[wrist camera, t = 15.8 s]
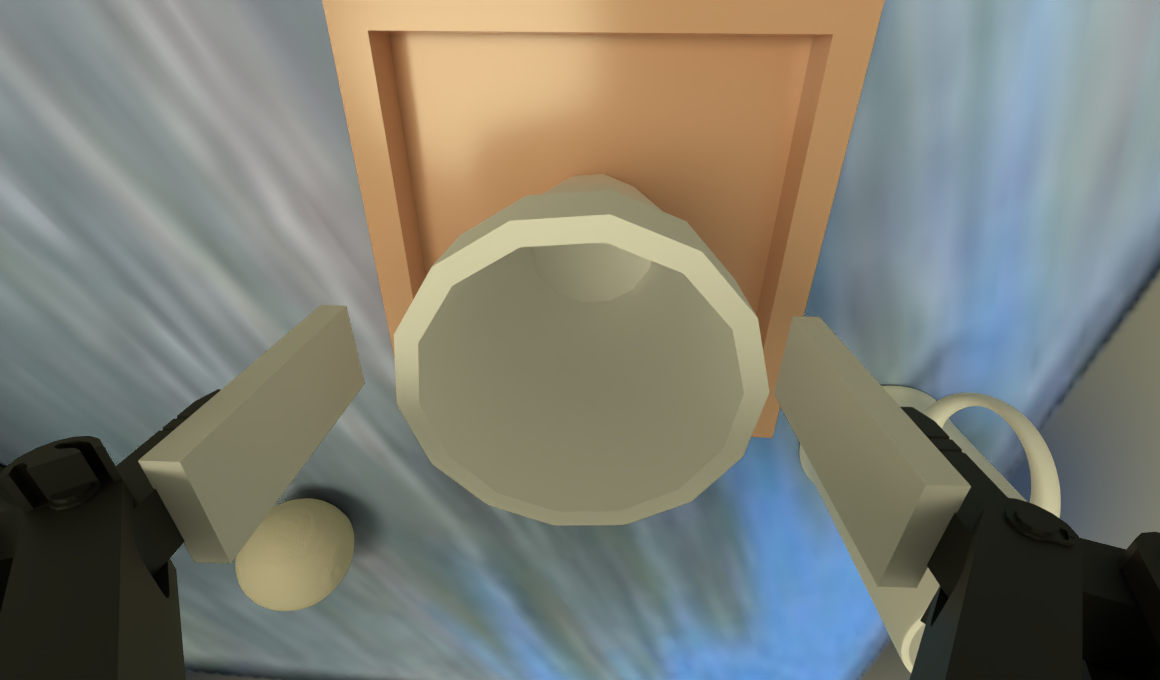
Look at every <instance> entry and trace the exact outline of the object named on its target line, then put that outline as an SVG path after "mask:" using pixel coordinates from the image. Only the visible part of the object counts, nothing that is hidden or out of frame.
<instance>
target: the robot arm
mask: <svg viewBox="0 0 1160 680" xmlns="http://www.w3.org/2000/svg"><path fill="white" fill-rule="evenodd" d="M364 384H365V382H364V378H363V373H362V369H361V365H360V361H359V357H358V353H357V348H356V344H355V340H354V336H353V332H352V328H351V323H350V319H349V315H348V311H347V307H346V306H330V305H321V306H319V307H318V308H317V309H316V310H315V311H313V312H312V313H311V314H310V315H309V316H308V317H306V318H305V319H304V320H303V321H302V322H301V323H299V324H298V325H297V326H296V327H295V328H293V329H292V330H291V331H290V332H289V333H288V334H286V335H285V336H284V337H283V338H282V339H281V340H279V341H278V342H277V343H276V344H275V345H273V346H272V347H271V348H270V349H269V350H268V351H266V352H265V353H264V354H263V355H262V356H261V357H259V358H258V359H257V360H256V361H255V362H253V363H252V364H251V365H250V366H249V367H248V368H246V369H245V370H244V371H243V372H242V373H241V374H239V375H238V376H237V377H236V378H235V379H233V380H232V381H231V382H230V383H229V384H228V385H226V386H225V387H224V388H223V389H222V390H220V389H218V390H216V391H214V392H212V393H210V394H208V395H206V396H204V397H203V398H201V399H199V400H197V401H195V402H194V403H192V404H191V405H190V406H189V407H187V408H186V409H185V410H184V411H183V412H181V413H180V414H179V415H178V416H177V419H173V420H172V421H170V422H169V423H168V424H167V425H166V426H164V427H163V430H162V431H158V432H157V433H156V434H155V435H153V436H152V437H151V438H150V439H149V440H147V441H146V442H145V443H144V444H143V445H141V446H140V447H139V448H138V449H136V450H135V451H134V452H133V453H132V454H130V455H129V456H128V457H127V458H126V459H124V460H123V461H122V462H121V463H119V464H118V465H117V466H115V465H114V463H113V461H112V459H111V458H110V456H109V454H108V453H107V451H106V449H105V448H104V446H103V444H102V443H101V441H100V439H98V438H94V437H91V436H81V437H71V438H67V439H63V440H58V441H55V442H52V443H49V444H46V445H44V446H41V447H38V448H36V449H34V450H32V451H30V452H28V453H26V454H24V455H23V456H21V457H19V458H17V459H16V460H15V461H13V462H12V463H11V464H9V465H8V466H7V467H5V468H3V467H1V466H0V680H186V679H185V667H184V655H183V644H182V632H181V621H180V609H179V597H178V586H177V574H176V569H175V567H174V565H173V563H172V561H171V560H170V557H171V556H172V555H173V554H174V553H175V552H176V550H177V549H178V548H179V547H180V546H181V545H182V544H183V543H184V544H185V546H186V548H187V550H188V552H189V553H190V555H191V557H192V559H193V561H194V562H203V563H232V561H233V560H234V559H235V557H236V556H237V555H238V553H239V552H240V551H241V549H242V548H243V547H244V545H245V544H246V543H247V541H248V540H249V538H250V537H251V536H252V534H253V533H254V532H255V530H256V529H257V528H258V526H259V525H260V524H261V522H262V521H263V520H264V518H265V517H266V516H267V514H268V513H269V512H270V510H271V509H272V508H273V506H274V505H275V504H276V502H277V501H278V499H279V498H280V497H281V495H282V494H283V493H284V491H285V490H286V489H287V487H288V486H289V485H290V483H291V482H292V481H293V479H294V478H295V477H296V475H297V474H298V473H299V471H300V470H301V469H302V467H303V466H304V465H305V463H306V462H307V460H308V459H309V458H310V456H311V455H312V454H313V452H314V451H315V450H316V448H317V447H318V446H319V444H320V443H321V442H322V440H323V439H324V438H325V436H326V435H327V434H328V432H329V431H330V430H331V428H332V427H333V426H334V424H335V423H336V422H337V420H338V419H339V417H340V416H341V415H342V413H343V412H344V411H345V409H346V408H347V407H348V405H349V404H350V403H351V401H352V400H353V399H354V397H355V396H356V395H357V393H358V392H359V391H360V389H361V388H362V387H363V385H364ZM774 396H775V398H776V399H777V401H778V403H779V405H780V407H781V409H782V410H783V412H784V414H785V416H786V418H787V420H788V422H789V423H790V425H791V427H792V429H793V431H794V433H795V434H796V436H797V438H798V440H799V442H800V444H801V446H802V447H803V449H804V451H805V453H806V455H807V457H808V459H809V460H810V462H811V464H812V466H813V468H814V470H815V471H816V473H817V475H818V477H819V479H820V481H821V483H822V484H823V486H824V488H825V490H826V492H827V494H828V495H829V497H830V499H831V501H832V503H833V505H834V507H835V508H836V510H837V512H838V514H839V516H840V518H841V519H842V521H843V523H844V525H845V527H846V529H847V531H848V532H849V534H850V536H851V538H852V540H853V542H854V544H855V545H856V547H857V549H858V551H859V553H860V555H861V556H862V558H863V560H864V562H865V564H866V566H867V568H868V569H869V571H870V573H871V575H872V577H873V579H874V580H875V582H876V584H877V586H878V587H904V588H917V587H918V585H919V583H920V581H921V579H922V577H923V575H924V574H925V572H926V570H927V568H929V570H930V571H931V573H932V574H933V576H934V577H935V579H936V580H937V582H938V583H939V585H940V587H939V588H938V590H937V592H936V594H935V595H934V597H933V599H932V601H931V602H930V604H929V606H928V608H927V609H926V611H925V613H924V615H923V616H922V618H921V620H920V621H921V622H923V623H924V624H926V625H925V628H924V632H923V635H922V638H921V642H920V645H919V649H918V652H917V656H916V659H915V663H914V666H913V669H912V673H911V676H910V680H1160V533H1158V532H1148V533H1141V534H1140V535H1139V536H1138V537H1137V538H1136V539H1135V540H1134V541H1133V542H1132V544H1131V545H1130V546H1129V547H1128V548H1127V550H1126V549H1122V548H1117V547H1114V546H1110V545H1106V544H1101V543H1098V542H1093V541H1090V540H1086V539H1082V538H1079V537H1078V535H1077V534H1076V533H1075V532H1074V531H1073V530H1072V529H1071V527H1070V526H1069V525H1068V524H1066V523H1065V522H1064V521H1062V520H1061V519H1060V518H1058V517H1057V516H1055V515H1054V514H1053V513H1051V512H1049V511H1047V510H1045V509H1043V508H1041V507H1039V506H1037V505H1035V504H1032V503H1029V502H1026V501H1023V500H1019V499H1015V498H1008V497H1007V496H1006V495H1005V494H1004V493H1003V492H1002V491H1001V490H1000V489H999V488H998V487H997V486H996V485H995V484H994V483H993V481H992V480H991V479H990V478H989V477H988V476H987V475H986V474H985V473H984V472H983V471H982V470H981V469H980V468H979V467H978V466H977V465H976V464H975V463H974V462H973V461H972V460H971V459H970V457H969V456H968V455H967V454H966V453H962V449H961V448H960V447H959V446H958V445H957V444H956V443H955V442H954V441H953V440H950V439H949V436H948V434H947V433H946V432H945V431H944V430H943V429H942V428H941V427H940V426H939V425H938V424H937V423H936V422H935V421H934V420H932V419H931V418H929V417H928V416H926V415H924V414H923V413H921V412H920V411H918V410H917V409H915V408H913V407H900V406H899V405H898V404H897V403H896V402H895V401H894V400H893V399H892V397H891V396H890V395H889V394H888V393H887V392H886V391H885V390H884V388H883V387H882V386H881V385H880V384H879V383H878V382H877V381H876V380H875V378H874V377H873V376H872V375H871V374H870V373H869V372H868V371H867V369H866V368H865V367H864V366H863V365H862V364H861V363H860V362H859V361H858V359H857V358H856V357H855V356H854V355H853V354H852V353H851V352H850V350H849V349H848V348H847V347H846V346H845V345H844V344H843V343H842V342H841V340H840V339H839V338H838V337H837V336H836V335H835V334H834V333H833V331H832V330H831V329H830V328H829V327H828V326H827V325H826V324H825V323H824V321H823V320H822V319H821V318H820V317H806V316H793V317H792V321H791V325H790V329H789V334H788V338H787V342H786V346H785V350H784V354H783V358H782V362H781V367H780V371H779V375H778V379H777V383H776V387H775V391H774Z"/></svg>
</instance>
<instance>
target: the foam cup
mask: <svg viewBox="0 0 1160 680" xmlns="http://www.w3.org/2000/svg"><path fill="white" fill-rule="evenodd" d="M394 353H395V375H396V398H397V406H398V408H399V409H400V411H401V413H402V414H403V416H404V418H405V419H406V421H407V423H408V425H409V426H410V428H411V430H412V431H413V433H414V435H415V436H416V438H417V440H418V441H419V443H420V445H421V446H422V448H423V450H424V452H425V453H426V455H427V457H428V458H429V460H430V462H431V463H432V464H433V465H434V466H436V467H437V468H438V469H440V470H441V471H442V472H444V473H445V474H446V475H448V476H449V477H450V478H452V479H453V480H454V481H456V482H457V483H459V484H460V485H461V486H463V487H464V488H465V489H467V490H468V491H469V492H471V493H472V494H473V495H475V496H476V497H477V498H479V499H480V500H482V501H483V502H484V503H486V504H487V505H489V506H493V507H496V508H499V509H502V510H506V511H509V512H512V513H515V514H519V515H522V516H525V517H528V518H531V519H535V520H538V521H541V522H544V523H548V524H551V525H554V526H571V525H626V524H629V523H632V522H635V521H638V520H640V519H643V518H646V517H649V516H652V515H655V514H658V513H660V512H663V511H666V510H669V509H672V508H675V507H678V506H680V505H683V504H686V503H689V502H691V501H693V500H694V499H695V498H696V497H697V496H698V495H699V494H701V493H702V492H703V491H704V490H705V489H706V488H708V487H709V486H710V485H711V484H712V483H713V482H714V481H716V480H717V479H718V478H719V477H720V476H721V475H723V474H724V473H725V472H726V471H727V470H728V469H729V468H731V467H732V466H733V465H734V464H735V463H736V462H737V461H739V460H740V459H741V458H742V457H743V456H744V453H745V451H746V448H747V446H748V444H749V441H750V439H751V436H752V434H753V431H754V429H755V427H756V424H757V422H758V419H759V417H760V414H761V412H762V409H763V407H764V405H765V402H766V400H767V397H768V395H769V386H768V379H767V373H766V367H765V360H764V354H763V347H762V341H761V335H760V328H759V322H758V317H757V316H756V314H755V312H754V311H753V309H752V307H751V306H750V304H749V302H748V301H747V299H746V297H745V296H744V294H743V292H742V290H741V289H740V287H739V285H738V284H737V282H736V280H735V279H734V278H733V276H732V275H731V274H730V273H729V272H728V270H727V269H726V268H725V267H724V266H723V264H722V263H721V262H720V261H719V260H718V258H717V257H716V256H715V255H714V254H713V252H712V251H711V250H710V249H709V248H708V246H707V245H706V244H705V243H704V242H703V240H702V239H701V238H700V237H699V236H698V234H697V233H696V232H695V231H694V230H693V228H692V227H691V226H690V225H689V224H688V222H687V221H684V220H682V219H680V218H677V217H675V216H672V215H670V214H668V213H665V212H663V211H662V210H660V209H659V208H658V207H657V206H656V205H655V204H653V203H652V202H651V201H650V200H649V199H648V198H646V197H645V196H644V195H643V194H642V193H641V192H640V191H638V190H637V189H636V188H635V187H633V186H632V185H629V184H627V183H625V182H622V181H620V180H617V179H615V178H613V177H610V176H608V175H605V174H593V175H579V176H572V177H569V178H568V179H566V180H564V181H563V182H561V183H559V184H558V185H556V186H554V187H553V188H551V189H549V190H548V191H546V192H544V193H543V194H540V195H526V196H524V197H523V198H521V199H519V200H518V201H516V202H514V203H513V204H511V205H509V206H508V207H506V208H504V209H503V210H501V211H499V212H498V213H496V214H494V215H493V216H491V217H489V218H488V219H486V220H484V221H483V222H481V223H479V224H478V225H476V226H474V227H473V228H471V229H470V230H468V231H466V232H465V233H463V234H461V235H460V236H459V237H458V238H457V239H456V240H455V241H454V242H453V243H452V245H451V246H450V247H449V248H448V249H447V250H446V251H445V252H444V254H443V255H442V256H441V257H440V258H439V259H438V260H437V261H436V262H435V264H434V265H433V266H432V267H431V269H430V271H429V272H428V274H427V276H426V278H425V280H424V281H423V283H422V285H421V287H420V289H419V290H418V292H417V294H416V296H415V297H414V299H413V301H412V303H411V305H410V306H409V308H408V310H407V312H406V314H405V315H404V317H403V319H402V321H401V323H400V324H399V326H398V328H397V330H396V332H395V333H394Z"/></svg>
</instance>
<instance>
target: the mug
mask: <svg viewBox="0 0 1160 680" xmlns="http://www.w3.org/2000/svg"><path fill="white" fill-rule="evenodd" d="M882 387H883V388H884V390H885V391H886V392H887V393H888V394H889V395H890V396H891V397H892V399H893V400H894V401H895V402H896V403H897V404H898V405H899V406H900V407H913V408H915V409H917V410H918V411H920V412H921V413H923V414H924V415H926V416H928V417H929V418H931V419H932V420H934V421H935V422H936V423H937V424H938V425H939V426H940V427H941V428H942V429H943V430H944V431H945V432H946V433H947V434H948V436H949V439H950V440H953V441H954V442H955V443H956V444H957V445H958V446H959V447H960V448H961V449H962V453H966V454H967V455H968V456H969V457H970V459H971V460H972V461H973V462H974V463H975V464H976V465H977V466H978V467H979V468H980V469H981V470H982V471H983V472H984V473H985V474H986V475H987V476H988V477H989V478H990V479H991V480H992V481H993V483H994V484H995V485H996V486H997V487H998V488H999V489H1000V490H1001V491H1002V492H1003V493H1004V494H1005V495H1006V496H1007V497H1008V498H1015V499H1019V500H1023V501H1026V500H1025V499H1024V498H1023V497H1022V496H1021V495H1020V494H1019V493H1018V492H1017V491H1016V490H1015V489H1014V488H1013V487H1012V486H1011V484H1009V482H1008V481H1007V480H1006V479H1005V478H1004V477H1003V476H1002V475H1001V474H1000V473H999V472H998V471H997V470H996V469H995V468H994V467H993V466H992V465H991V464H990V463H989V461H988V460H987V459H986V458H985V457H984V456H983V455H982V454H981V453H980V452H979V451H978V450H977V449H976V448H975V447H974V446H973V445H972V444H971V443H970V442H969V441H968V440H967V438H966V437H965V436H964V435H963V434H962V433H961V432H960V431H959V430H958V429H957V428H956V427H955V426H954V424H953V423H952V422H951V421H950V419H949V417H950V416H951V415H952V414H954V413H955V412H957V411H959V410H961V409H963V408H966V407H970V406H982V407H986V408H988V409H991V410H992V411H994V412H996V413H997V414H999V415H1000V416H1001V417H1002V418H1003V419H1005V420H1006V421H1007V423H1008V424H1009V425H1010V426H1011V427H1012V429H1013V430H1014V431H1015V433H1016V434H1017V436H1018V438H1019V439H1020V441H1021V443H1022V445H1023V448H1024V450H1025V453H1026V455H1027V459H1028V462H1029V467H1030V473H1031V499H1030V503H1032V504H1035V505H1037V506H1039V507H1041V508H1043V509H1045V510H1047V511H1049V512H1051V513H1053V514H1054V515H1055V516H1057V517H1058V518H1059V517H1060V506H1061V501H1060V500H1061V497H1060V485H1059V480H1058V475H1057V471H1056V468H1055V464H1054V461H1053V458H1052V456H1051V453H1050V451H1049V449H1048V447H1047V445H1046V443H1045V442H1044V440H1043V438H1042V436H1041V435H1040V433H1039V432H1038V431H1037V429H1036V428H1035V427H1034V426H1033V424H1032V423H1031V422H1030V421H1029V420H1028V419H1027V418H1026V417H1025V416H1024V415H1023V414H1022V413H1020V412H1019V411H1018V410H1017V409H1015V408H1014V407H1012V406H1011V405H1009V404H1007V403H1006V402H1004V401H1002V400H999V399H997V398H994V397H992V396H988V395H984V394H979V393H957V394H952V395H949V396H946V397H944V398H941V399H939V400H938V401H936V400H935V399H934V398H932V397H931V396H929V395H928V394H926V393H924V392H922V391H919V390H916V389H913V388H909V387H903V386H882ZM799 457H800V462H801V465H802V468H803V470H804V472H805V473H806V475H807V476H808V477H809V479H810V480H811V481H812V482H813V483H814V484H815V486H816V488H817V490H818V491H819V493H820V495H821V497H822V499H823V501H824V503H825V505H826V507H827V509H828V511H829V513H830V515H831V517H832V519H833V521H834V523H835V525H836V528H837V530H838V532H839V534H840V536H841V538H842V540H843V542H844V544H845V546H846V548H847V550H848V552H849V554H850V556H851V558H852V560H853V562H854V564H855V566H856V568H857V570H858V572H859V574H860V576H861V578H862V580H863V582H864V584H865V586H866V589H867V591H868V593H869V595H870V597H871V599H872V601H873V603H874V605H875V607H876V609H877V611H878V613H879V615H880V617H881V619H882V621H883V623H884V625H885V627H886V629H887V631H888V633H889V635H890V637H891V639H892V641H893V643H894V645H895V647H896V649H897V651H898V653H899V655H900V657H901V659H902V661H903V663H904V665H905V666H906V668H907V669H908V670H909V672H910V673H912V669H913V666H914V663H915V659H916V656H917V652H918V649H919V645H920V642H921V638H922V635H923V632H924V628H925V625H926V624H924V623H923V622H921V621H920V620H921V618H922V616H923V615H924V613H925V611H926V609H927V608H928V606H929V604H930V602H931V601H932V599H933V597H934V595H935V594H936V592H937V590H938V588H939V587H940V585H939V583H938V582H937V580H936V579H935V577H934V576H933V574H932V573H931V571H930V570H929V568H927V570H926V572H925V574H924V575H923V577H922V579H921V581H920V583H919V585H918V587H917V588H904V587H878V586H877V584H876V582H875V580H874V579H873V577H872V575H871V573H870V571H869V569H868V568H867V566H866V564H865V562H864V560H863V558H862V556H861V555H860V553H859V551H858V549H857V547H856V545H855V544H854V542H853V540H852V538H851V536H850V534H849V532H848V531H847V529H846V527H845V525H844V523H843V521H842V519H841V518H840V516H839V514H838V512H837V510H836V508H835V507H834V505H833V503H832V501H831V499H830V497H829V495H828V494H827V492H826V490H825V488H824V486H823V484H822V483H821V481H820V479H819V477H818V475H817V473H816V471H815V470H814V468H813V466H812V464H811V462H810V460H809V459H808V457H807V455H806V453H805V451H804V449H803V447H802V446H801V444H800V448H799ZM1026 502H1027V501H1026Z"/></svg>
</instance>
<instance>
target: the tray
mask: <svg viewBox="0 0 1160 680" xmlns="http://www.w3.org/2000/svg"><path fill="white" fill-rule="evenodd" d="M322 1H323V6H324V11H325V16H326V21H327V26H328V31H329V36H330V41H331V46H332V50H333V55H334V60H335V65H336V70H337V75H338V80H339V85H340V90H341V95H342V100H343V105H344V110H345V115H346V120H347V125H348V130H349V135H350V140H351V145H352V150H353V155H354V159H355V164H356V169H357V174H358V179H359V184H360V189H361V194H362V199H363V204H364V209H365V214H366V219H367V224H368V229H369V234H370V239H371V244H372V249H373V254H374V259H375V264H376V268H377V273H378V278H379V283H380V288H381V293H382V298H383V303H384V308H385V313H386V318H387V323H388V328H389V333H390V338H391V343H392V348H393V353H394V333H395V332H396V330H397V328H398V326H399V324H400V323H401V321H402V319H403V317H404V315H405V314H406V312H407V310H408V308H409V306H410V305H411V303H412V301H413V299H414V297H415V296H416V294H417V292H418V290H419V289H420V287H421V285H422V283H423V281H424V280H425V278H426V276H427V274H428V272H429V271H430V269H431V267H432V266H433V265H434V264H435V262H436V261H437V260H438V259H439V258H440V257H441V256H442V255H443V254H444V252H445V251H446V250H447V249H448V248H449V247H450V246H451V245H452V243H453V242H454V241H455V240H456V239H457V238H458V237H459V236H460V235H461V234H463V233H465V232H466V231H468V230H470V229H471V228H473V227H474V226H476V225H478V224H479V223H481V222H483V221H484V220H486V219H488V218H489V217H491V216H493V215H494V214H496V213H498V212H499V211H501V210H503V209H504V208H506V207H508V206H509V205H511V204H513V203H514V202H516V201H518V200H519V199H521V198H523V197H524V196H526V195H540V194H543V193H544V192H546V191H548V190H549V189H551V188H553V187H554V186H556V185H558V184H559V183H561V182H563V181H564V180H566V179H568V178H569V177H572V176H579V175H593V174H605V175H608V176H610V177H613V178H615V179H617V180H620V181H622V182H625V183H627V184H629V185H632V186H633V187H635V188H636V189H637V190H638V191H640V192H641V193H642V194H643V195H644V196H645V197H646V198H648V199H649V200H650V201H651V202H652V203H653V204H655V205H656V206H657V207H658V208H659V209H660V210H662V211H663V212H665V213H668V214H670V215H672V216H675V217H677V218H680V219H682V220H684V221H687V222H688V224H689V225H690V226H691V227H692V228H693V230H694V231H695V232H696V233H697V234H698V236H699V237H700V238H701V239H702V240H703V242H704V243H705V244H706V245H707V246H708V248H709V249H710V250H711V251H712V252H713V254H714V255H715V256H716V257H717V258H718V260H719V261H720V262H721V263H722V264H723V266H724V267H725V268H726V269H727V270H728V272H729V273H730V274H731V275H732V276H733V278H734V279H735V280H736V282H737V284H738V285H739V287H740V289H741V290H742V292H743V294H744V296H745V297H746V299H747V301H748V302H749V304H750V306H751V307H752V309H753V311H754V312H755V314H756V316H757V317H758V322H759V328H760V335H761V341H762V347H763V354H764V360H765V367H766V373H767V379H768V386H769V395H768V397H767V400H766V402H765V405H764V407H763V409H762V412H761V414H760V417H759V419H758V422H757V424H756V427H755V429H754V431H753V434H752V436H751V437H766V438H772V437H773V433H774V429H775V426H776V422H777V418H778V414H779V410H780V405H779V403H778V401H777V399H776V398H775V396H774V391H775V387H776V383H777V379H778V375H779V371H780V367H781V362H782V358H783V354H784V350H785V346H786V342H787V338H788V334H789V329H790V325H791V321H792V317H793V316H804V313H805V309H806V305H807V301H808V297H809V293H810V289H811V285H812V281H813V278H814V274H815V270H816V266H817V262H818V258H819V254H820V250H821V246H822V242H823V239H824V235H825V231H826V227H827V223H828V219H829V215H830V211H831V207H832V204H833V200H834V196H835V192H836V188H837V184H838V180H839V176H840V172H841V169H842V165H843V161H844V157H845V153H846V149H847V145H848V141H849V137H850V133H851V130H852V126H853V122H854V118H855V114H856V110H857V106H858V102H859V98H860V95H861V91H862V87H863V83H864V79H865V75H866V71H867V67H868V63H869V59H870V56H871V52H872V48H873V44H874V40H875V36H876V32H877V28H878V24H879V21H880V17H881V13H882V9H883V5H884V1H885V0H322ZM394 358H395V353H394Z"/></svg>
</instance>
